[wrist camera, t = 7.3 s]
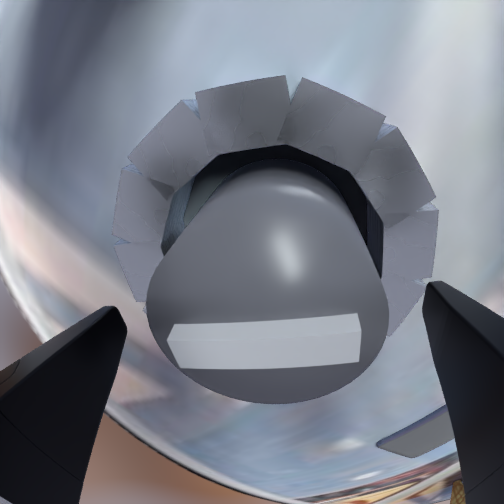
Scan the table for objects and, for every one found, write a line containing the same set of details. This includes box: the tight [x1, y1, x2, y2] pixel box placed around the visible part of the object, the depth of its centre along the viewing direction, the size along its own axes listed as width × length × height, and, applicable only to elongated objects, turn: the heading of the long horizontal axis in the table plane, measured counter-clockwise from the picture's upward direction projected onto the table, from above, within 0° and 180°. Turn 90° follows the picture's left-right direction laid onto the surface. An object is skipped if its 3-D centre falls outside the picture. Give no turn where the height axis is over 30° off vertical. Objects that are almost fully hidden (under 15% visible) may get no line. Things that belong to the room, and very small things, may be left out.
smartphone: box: [377, 405, 455, 458], centre depth 18 cm, size 8×1×15 cm
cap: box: [146, 159, 389, 404], centre depth 9 cm, size 6×6×7 cm
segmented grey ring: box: [112, 75, 439, 336], centre depth 11 cm, size 12×12×2 cm
